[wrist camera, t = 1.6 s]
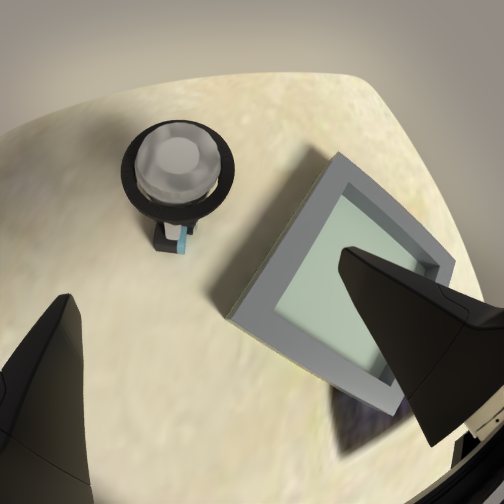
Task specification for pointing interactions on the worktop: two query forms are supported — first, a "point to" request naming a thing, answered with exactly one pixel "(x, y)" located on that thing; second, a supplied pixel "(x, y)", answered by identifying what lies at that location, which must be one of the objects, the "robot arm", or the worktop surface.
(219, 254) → the worktop surface
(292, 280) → the dock
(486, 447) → the robot arm
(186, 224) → the push button
